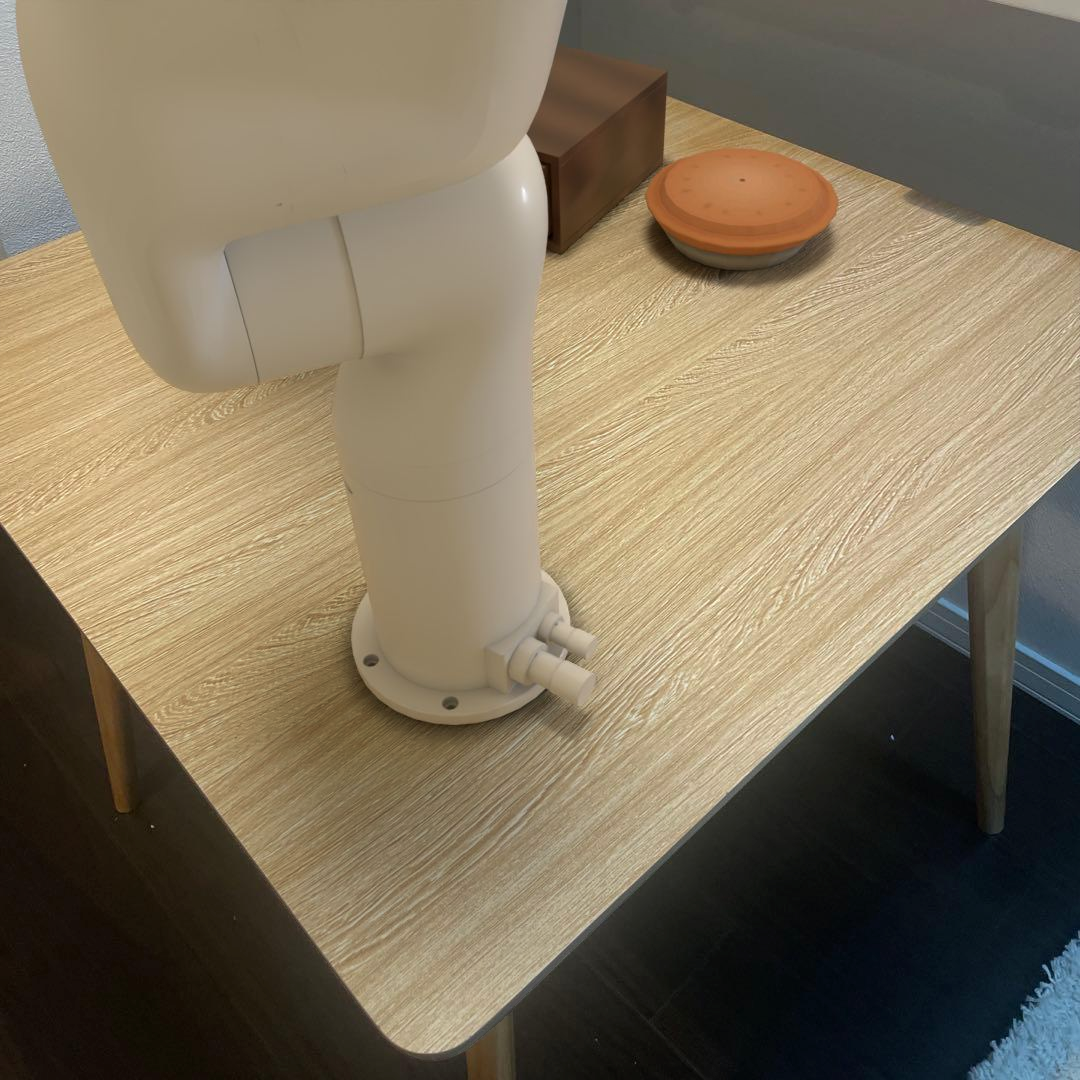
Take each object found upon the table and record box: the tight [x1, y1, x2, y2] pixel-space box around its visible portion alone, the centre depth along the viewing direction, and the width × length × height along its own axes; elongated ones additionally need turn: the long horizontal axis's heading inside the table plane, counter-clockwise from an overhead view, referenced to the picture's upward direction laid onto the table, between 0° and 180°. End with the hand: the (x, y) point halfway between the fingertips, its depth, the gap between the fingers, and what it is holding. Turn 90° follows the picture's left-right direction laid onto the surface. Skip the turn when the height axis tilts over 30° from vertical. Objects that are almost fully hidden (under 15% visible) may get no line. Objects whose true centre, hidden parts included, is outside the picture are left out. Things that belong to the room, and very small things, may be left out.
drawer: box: [540, 161, 553, 237], centre depth 88 cm, size 22×13×7 cm, turn 147°
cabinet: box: [526, 44, 669, 255], centre depth 97 cm, size 18×15×9 cm
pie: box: [644, 147, 840, 272], centre depth 92 cm, size 16×16×5 cm
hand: (273, 85), depth 72 cm, fingers closed on medicine box, 4 cm apart
